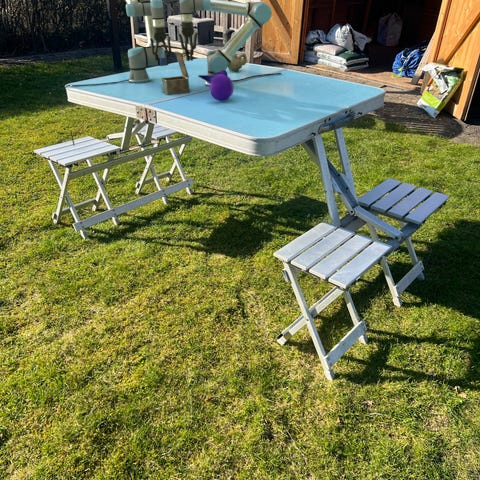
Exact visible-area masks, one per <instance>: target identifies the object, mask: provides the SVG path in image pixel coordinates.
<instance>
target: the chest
mask: <svg viewBox="0 0 480 480" xmlns="http://www.w3.org/2000/svg"><path fill="white" fill-rule="evenodd" d="M161 85H162V92H163V93H164V94H165V95H167V96H170V95H179V94H185V93H186V94H187V93H190V82H189V78H187V77H185V76H183V75H180V76H169V77H162V78H161Z"/></svg>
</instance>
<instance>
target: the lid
mask: <svg viewBox="0 0 480 480" xmlns="http://www.w3.org/2000/svg"><path fill="white" fill-rule="evenodd" d="M188 51H189V53H188V54H186V55H185V52H180V51H178V50H175V51H174V53H175V56H176V59H177V62H178V65H179V70H180V72H181V76H184V77H186V78H188V79H189V78H190V76H189V73H188V70H187V65H186V63H185V60H184V58H185V57H187V55H189V56H190V55H192V52H190V50H188ZM192 56H193V55H192Z"/></svg>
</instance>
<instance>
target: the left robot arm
mask: <svg viewBox="0 0 480 480" xmlns="http://www.w3.org/2000/svg"><path fill="white" fill-rule="evenodd" d="M123 1H124V2H126V4H125V9H126V10H125V11H126V15H127V17H131V18H135V17H143V18H144V24H145V33H146V34H145V35H146V41H147V44H146V46H145V48H144V47H143V46H137V47H132V48H130V49H128V50H127V57H128V64H129V65H128V66H129V76H128V79H124V80H120V81H113V82H101V83H90V84H89V83H88V84H67V85H65V87H64V89H67V87H87V86H101V85H110V84H111V85H112V84H119V83H124V82H129V83H133V84H141V83H148V82H150V76H149V74H148V71H147V67H149V66H159V58H158V57H167V63H168V64H169V60H170V54H171V53H172V45H171V38H172V37H171V36H168V35H167V34H166V27H165V26H166V25H165V24H166V23H165V16H164V4H163V3H164V2H163V0H123ZM166 42H167V44H166ZM161 43H162V44H161ZM159 67H160V66H159ZM70 85H72V86H70ZM69 131H70V136H71V140H72V146H75V141H74V136H73V132H72V130H69Z"/></svg>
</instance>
